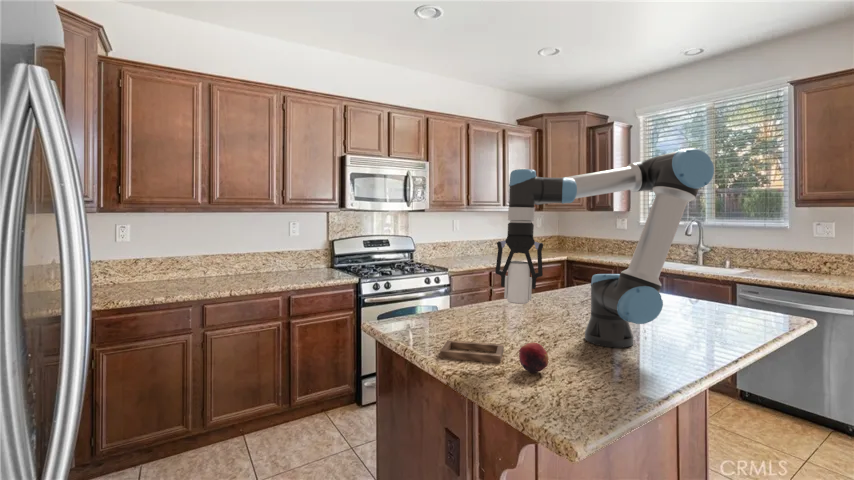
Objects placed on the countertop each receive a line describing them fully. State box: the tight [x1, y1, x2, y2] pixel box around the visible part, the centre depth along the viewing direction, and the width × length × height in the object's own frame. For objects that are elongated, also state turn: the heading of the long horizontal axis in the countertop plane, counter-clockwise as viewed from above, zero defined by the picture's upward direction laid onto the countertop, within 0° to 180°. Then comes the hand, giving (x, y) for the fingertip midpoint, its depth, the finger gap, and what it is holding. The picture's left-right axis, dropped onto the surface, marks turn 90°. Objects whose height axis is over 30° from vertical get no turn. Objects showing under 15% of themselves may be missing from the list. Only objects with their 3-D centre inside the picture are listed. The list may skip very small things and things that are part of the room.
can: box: [506, 260, 531, 305], centre depth 123 cm, size 6×6×12 cm
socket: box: [439, 340, 504, 364], centre depth 127 cm, size 18×11×2 cm, turn 75°
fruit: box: [518, 341, 549, 374], centre depth 112 cm, size 8×8×8 cm
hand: (517, 298), depth 123 cm, fingers closed on can, 6 cm apart
